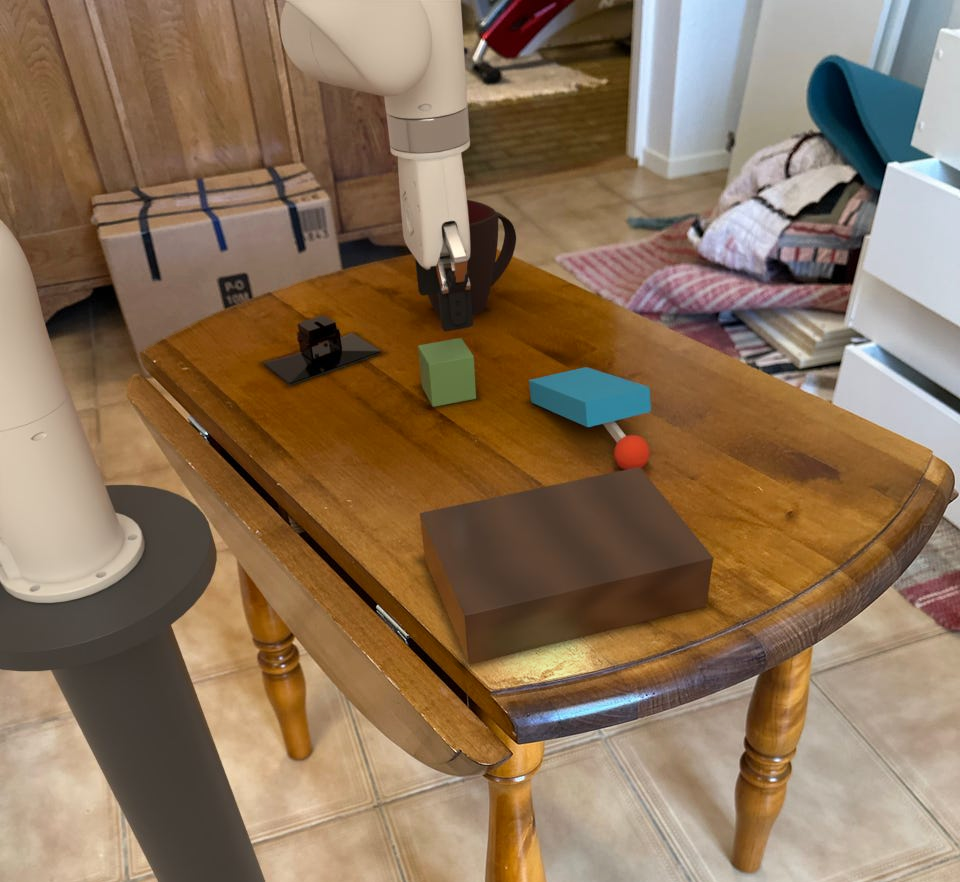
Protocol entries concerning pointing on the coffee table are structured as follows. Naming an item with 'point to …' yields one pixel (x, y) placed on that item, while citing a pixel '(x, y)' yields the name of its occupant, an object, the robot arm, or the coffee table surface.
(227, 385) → the coffee table surface
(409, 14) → the robot arm
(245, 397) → the coffee table surface
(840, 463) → the coffee table surface
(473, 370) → the green toy block
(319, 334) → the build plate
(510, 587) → the block
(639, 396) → the lever
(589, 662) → the coffee table surface
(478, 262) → the cup
